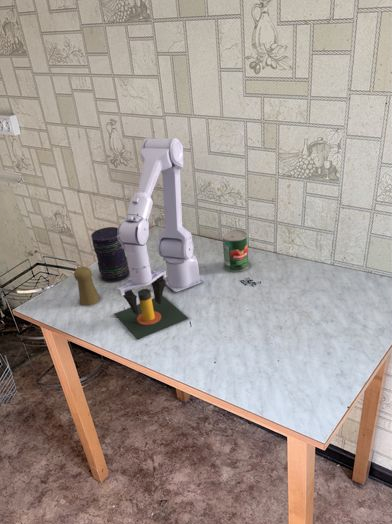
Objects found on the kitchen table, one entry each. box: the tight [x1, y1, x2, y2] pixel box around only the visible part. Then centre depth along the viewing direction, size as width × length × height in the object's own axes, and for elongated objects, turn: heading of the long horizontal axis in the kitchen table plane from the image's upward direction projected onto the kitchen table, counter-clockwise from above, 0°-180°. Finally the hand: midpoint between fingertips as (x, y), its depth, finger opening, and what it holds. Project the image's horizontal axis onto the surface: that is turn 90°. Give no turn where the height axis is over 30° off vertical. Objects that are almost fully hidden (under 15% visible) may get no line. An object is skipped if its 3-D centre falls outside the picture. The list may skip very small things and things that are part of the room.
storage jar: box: [90, 226, 130, 283], centre depth 166 cm, size 10×10×15 cm
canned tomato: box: [221, 229, 250, 273], centre depth 163 cm, size 8×8×11 cm
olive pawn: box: [73, 266, 100, 306], centre depth 155 cm, size 6×6×11 cm
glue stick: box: [137, 288, 155, 321], centre depth 143 cm, size 4×4×8 cm
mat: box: [114, 294, 189, 340], centre depth 147 cm, size 16×16×1 cm
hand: (147, 307), depth 144 cm, fingers open, 7 cm apart
